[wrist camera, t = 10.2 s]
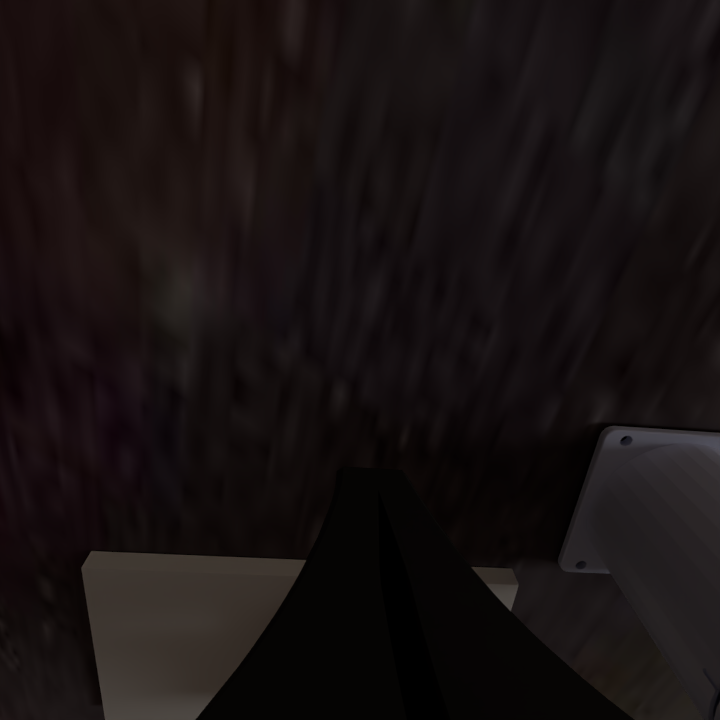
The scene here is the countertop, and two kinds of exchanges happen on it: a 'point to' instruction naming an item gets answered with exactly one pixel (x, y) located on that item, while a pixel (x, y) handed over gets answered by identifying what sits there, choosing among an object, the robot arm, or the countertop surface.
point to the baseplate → (188, 624)
